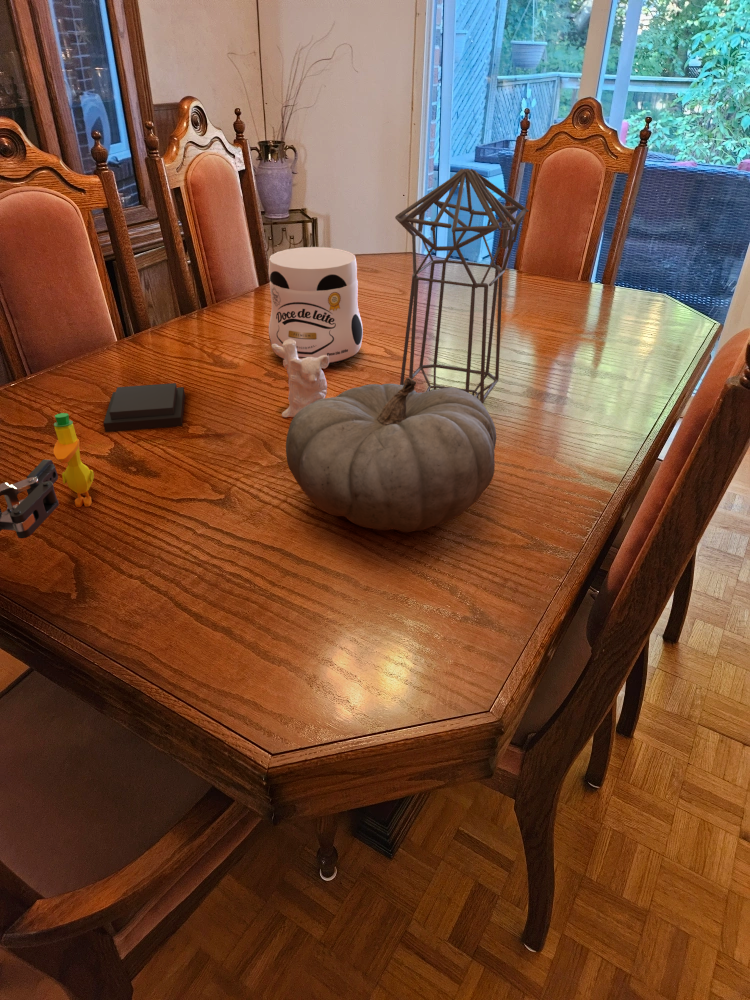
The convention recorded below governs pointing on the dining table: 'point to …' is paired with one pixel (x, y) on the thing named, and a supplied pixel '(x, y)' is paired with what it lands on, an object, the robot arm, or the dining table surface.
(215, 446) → the dining table surface
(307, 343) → the milk container
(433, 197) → the geometric lantern
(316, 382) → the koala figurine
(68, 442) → the toy figure
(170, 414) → the pad stack
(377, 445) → the gourd
